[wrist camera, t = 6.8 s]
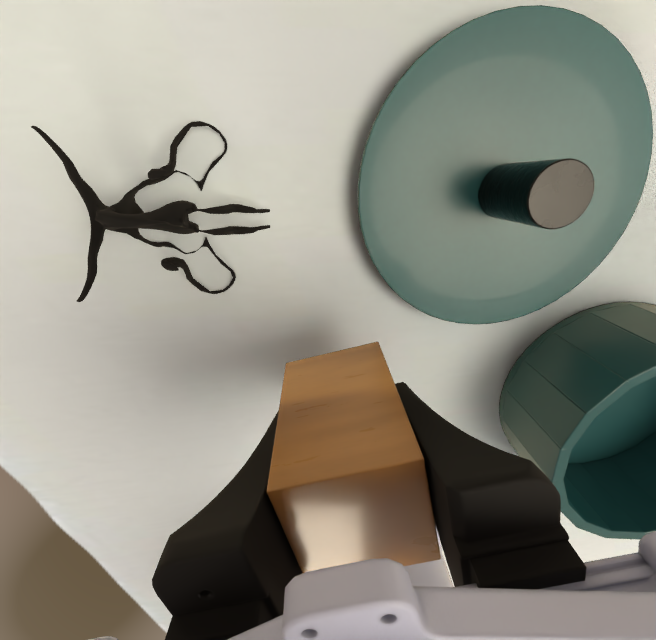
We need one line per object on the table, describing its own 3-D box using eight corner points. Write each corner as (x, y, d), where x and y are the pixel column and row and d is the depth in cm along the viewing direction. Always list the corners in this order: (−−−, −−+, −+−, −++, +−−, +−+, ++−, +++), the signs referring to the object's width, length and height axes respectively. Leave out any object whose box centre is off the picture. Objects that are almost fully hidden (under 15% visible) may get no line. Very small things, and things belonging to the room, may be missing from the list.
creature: (264, 130, 16) (74, 113, 14) (278, 110, 11) (-5, 83, 9) (268, 285, 19) (111, 290, 17) (280, 322, 15) (66, 335, 12)
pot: (678, 442, 24) (776, 514, 19) (501, 479, 25) (549, 557, 19) (714, 278, 19) (860, 315, 14) (493, 329, 20) (555, 382, 15)
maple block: (393, 416, 17) (441, 559, 11) (309, 434, 17) (307, 585, 11) (378, 340, 15) (424, 458, 9) (285, 362, 16) (265, 491, 9)
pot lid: (617, 285, 19) (718, 320, 14) (381, 340, 20) (402, 390, 15) (650, -25, 14) (825, -132, 9) (326, 66, 14) (332, 13, 10)
